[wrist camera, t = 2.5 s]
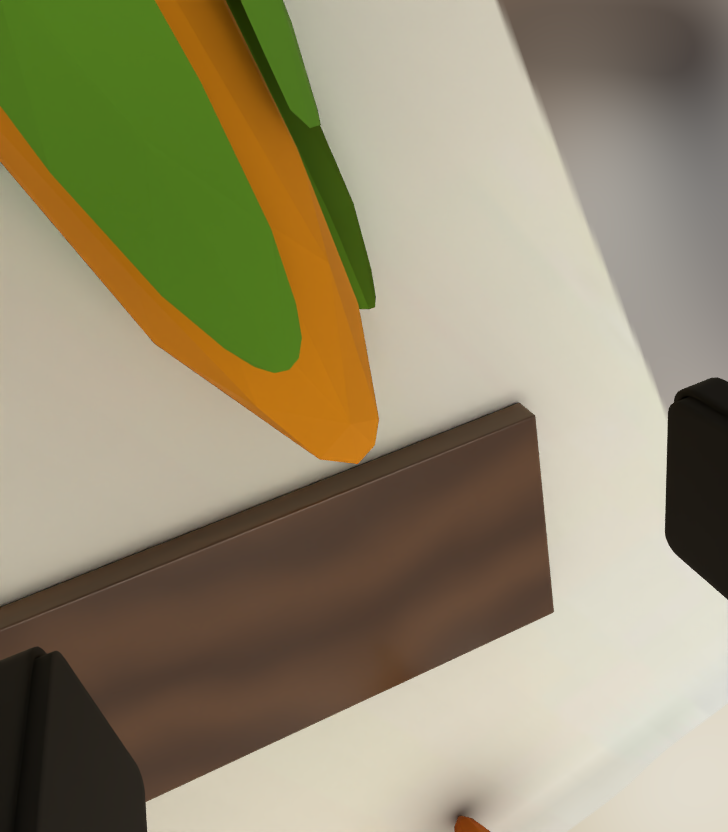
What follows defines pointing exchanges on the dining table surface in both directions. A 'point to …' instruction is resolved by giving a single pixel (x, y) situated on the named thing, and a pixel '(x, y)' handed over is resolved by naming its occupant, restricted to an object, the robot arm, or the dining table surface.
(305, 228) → the corn
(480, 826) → the carrot
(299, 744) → the dining table surface
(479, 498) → the board
